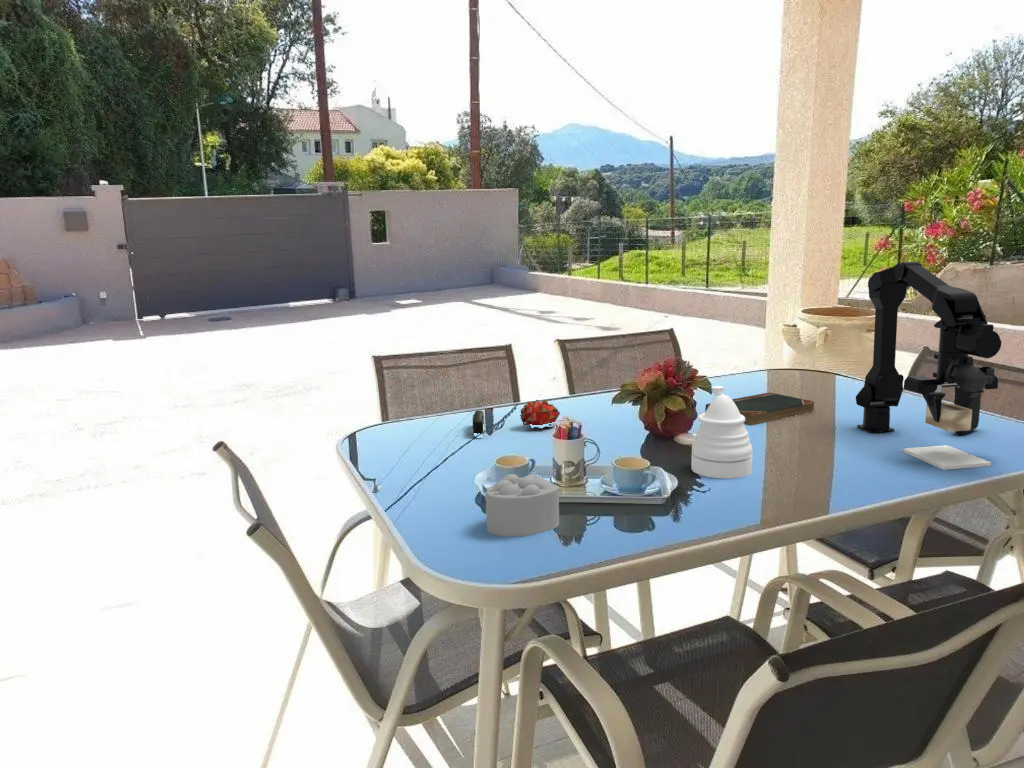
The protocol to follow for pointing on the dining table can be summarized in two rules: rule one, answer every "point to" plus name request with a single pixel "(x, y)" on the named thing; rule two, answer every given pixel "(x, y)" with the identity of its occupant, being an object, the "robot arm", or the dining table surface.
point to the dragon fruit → (539, 413)
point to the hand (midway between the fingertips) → (947, 421)
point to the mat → (946, 457)
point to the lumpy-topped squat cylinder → (522, 506)
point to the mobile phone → (478, 422)
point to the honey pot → (722, 441)
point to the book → (770, 407)
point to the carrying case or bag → (973, 413)
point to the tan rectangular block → (951, 417)
